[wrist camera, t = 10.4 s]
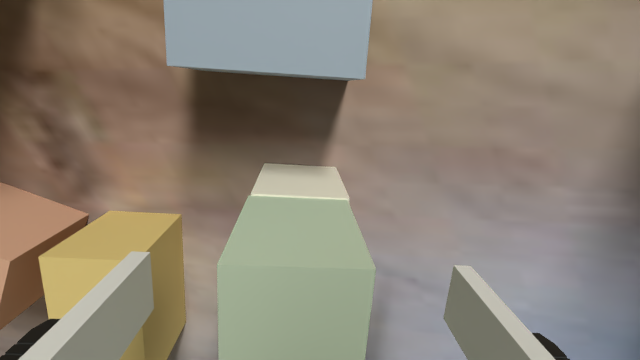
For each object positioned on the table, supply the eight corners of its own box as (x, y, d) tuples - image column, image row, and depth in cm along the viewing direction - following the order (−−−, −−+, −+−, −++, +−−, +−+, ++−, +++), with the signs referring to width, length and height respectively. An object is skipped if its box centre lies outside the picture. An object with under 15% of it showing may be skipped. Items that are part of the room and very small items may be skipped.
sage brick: (248, 195, 15) (216, 264, 9) (347, 199, 15) (376, 269, 10) (246, 346, 17) (220, 478, 11) (333, 347, 18) (350, 476, 12)
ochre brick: (110, 210, 21) (38, 257, 16) (181, 213, 22) (137, 260, 16) (121, 319, 24) (61, 395, 18) (186, 321, 24) (148, 396, 18)
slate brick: (208, 71, 19) (166, 65, 14) (206, -15, 18) (160, -61, 12) (348, 80, 20) (365, 79, 14) (354, -3, 19) (376, -42, 13)
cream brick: (264, 163, 21) (251, 193, 15) (335, 167, 21) (349, 198, 15) (260, 279, 23) (248, 344, 17) (326, 281, 23) (334, 346, 18)
